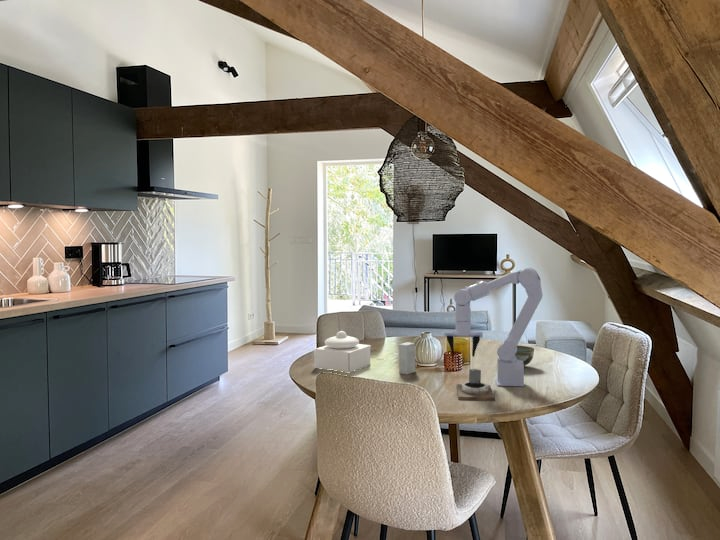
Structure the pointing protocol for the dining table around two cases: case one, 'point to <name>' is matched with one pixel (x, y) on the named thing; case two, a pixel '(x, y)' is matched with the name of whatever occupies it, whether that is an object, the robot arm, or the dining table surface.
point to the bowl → (524, 354)
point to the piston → (474, 378)
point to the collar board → (474, 392)
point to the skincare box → (406, 358)
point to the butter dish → (342, 354)
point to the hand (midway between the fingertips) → (463, 355)
